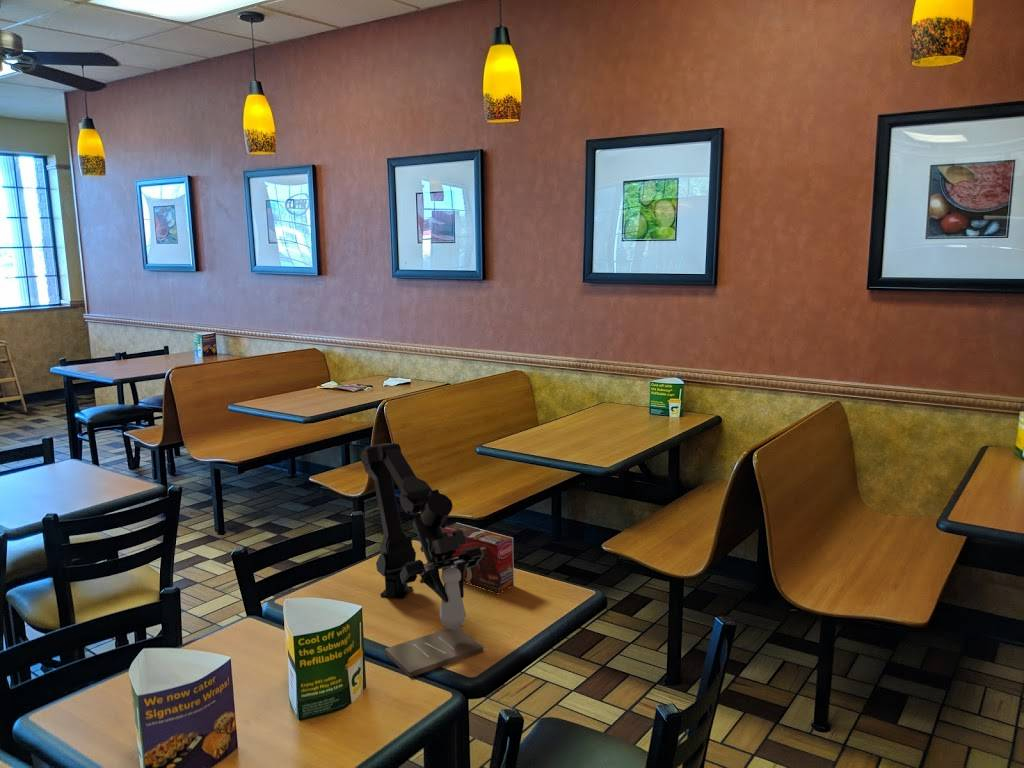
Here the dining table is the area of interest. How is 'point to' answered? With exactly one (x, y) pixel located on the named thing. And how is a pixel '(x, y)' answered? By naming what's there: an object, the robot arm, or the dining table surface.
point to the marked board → (433, 651)
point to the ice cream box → (487, 558)
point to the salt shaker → (452, 600)
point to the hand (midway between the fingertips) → (454, 599)
